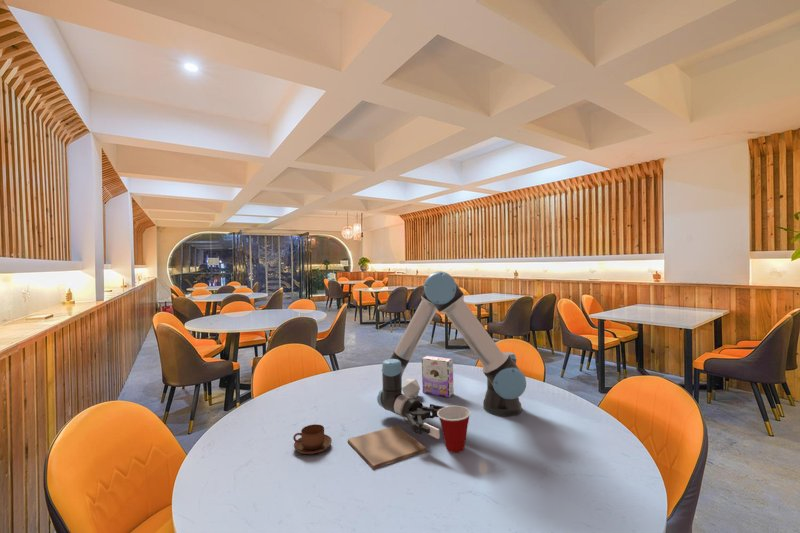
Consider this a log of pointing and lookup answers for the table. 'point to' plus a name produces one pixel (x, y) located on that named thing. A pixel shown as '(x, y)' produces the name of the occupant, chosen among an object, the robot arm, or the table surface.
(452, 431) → the plastic cup
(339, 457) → the table surface
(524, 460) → the table surface
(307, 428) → the cup and saucer
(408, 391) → the die
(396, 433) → the walnut board
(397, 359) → the robot arm
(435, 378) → the candy box
